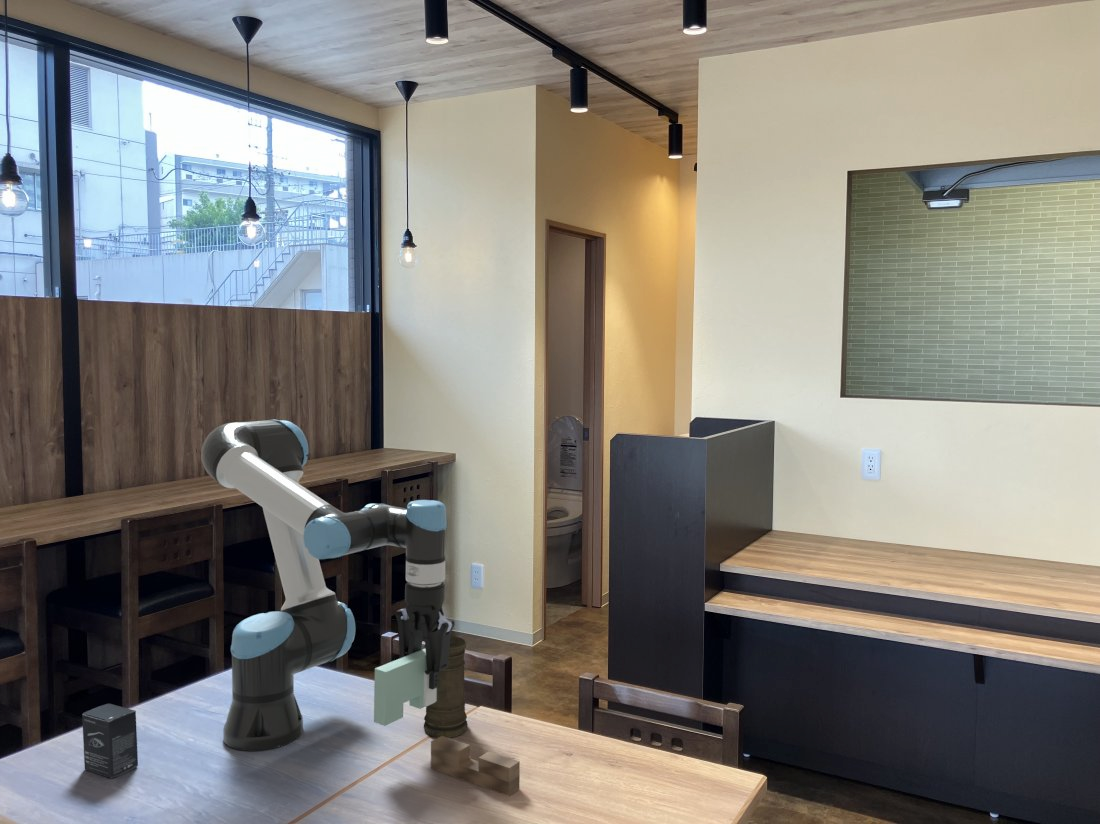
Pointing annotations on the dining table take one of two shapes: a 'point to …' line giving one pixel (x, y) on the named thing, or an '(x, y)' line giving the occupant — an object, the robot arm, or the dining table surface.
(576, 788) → the dining table surface
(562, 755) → the dining table surface
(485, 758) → the slotted rail
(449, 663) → the container
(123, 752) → the box
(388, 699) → the plate
